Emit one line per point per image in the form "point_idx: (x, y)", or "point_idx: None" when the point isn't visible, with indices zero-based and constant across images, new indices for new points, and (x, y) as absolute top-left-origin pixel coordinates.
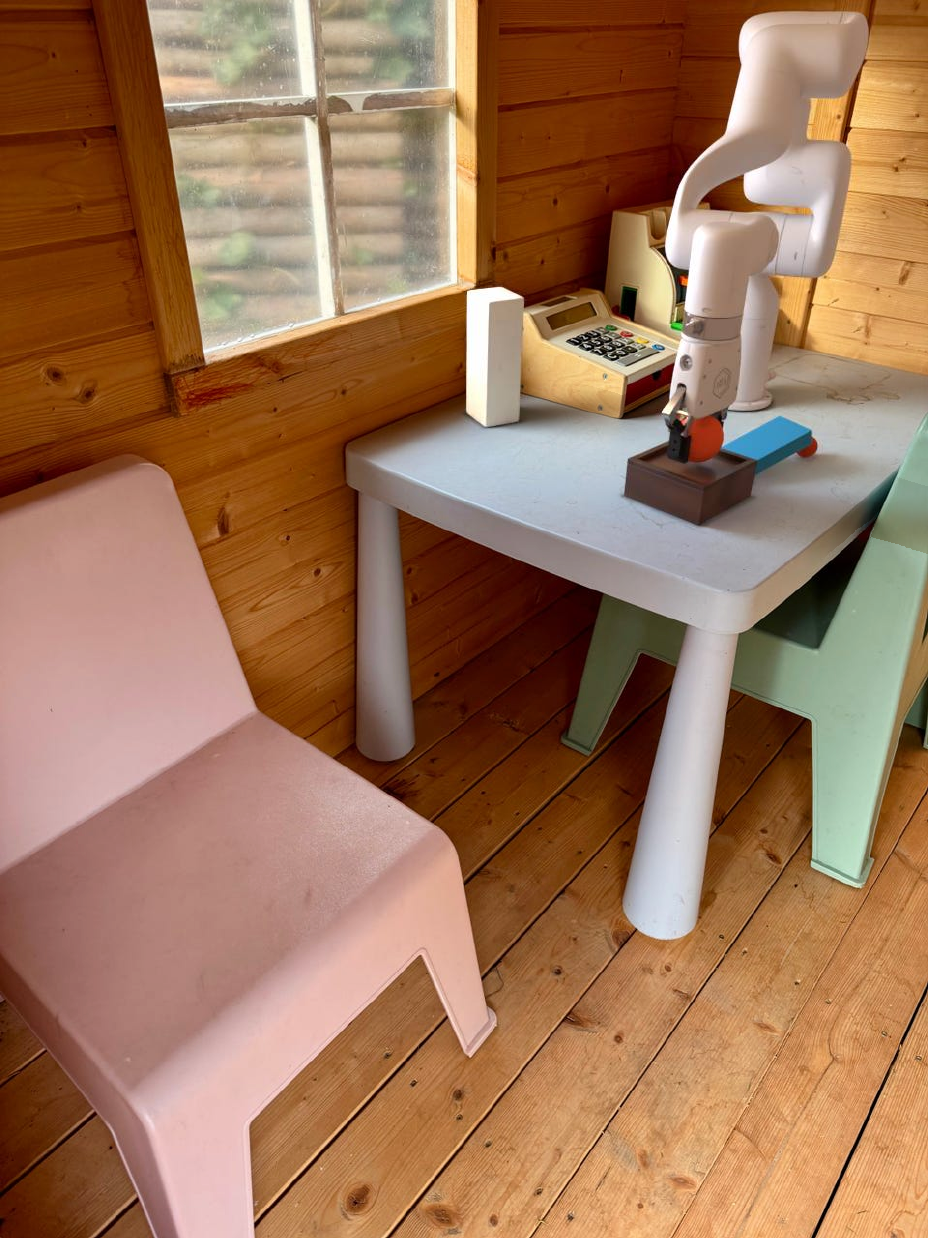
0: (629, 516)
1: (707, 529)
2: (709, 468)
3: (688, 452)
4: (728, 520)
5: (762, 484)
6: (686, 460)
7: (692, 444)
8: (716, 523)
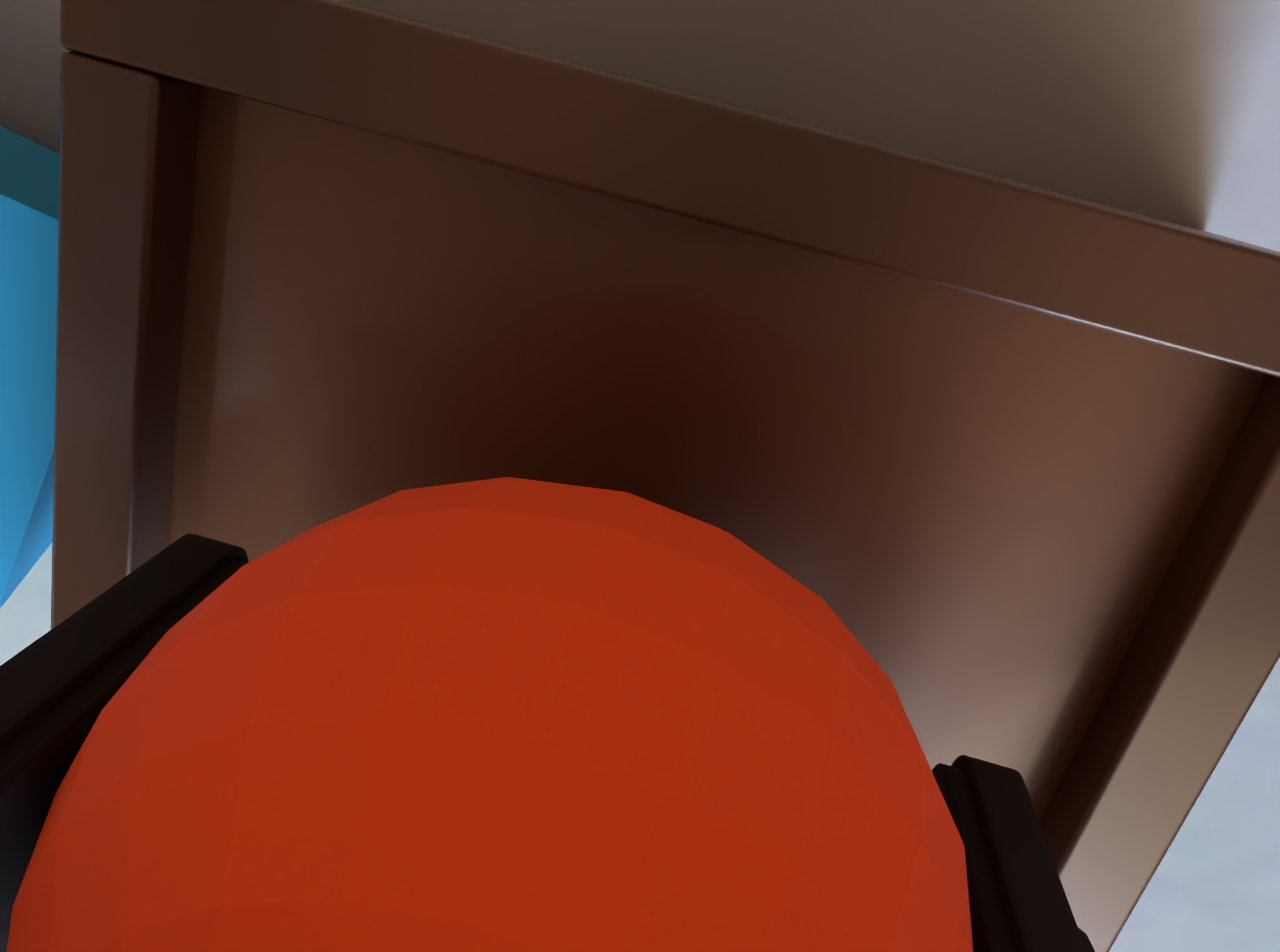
0: (1252, 780)
1: (1255, 125)
2: (596, 469)
3: (1025, 867)
4: (954, 8)
5: (3, 3)
6: (1018, 786)
7: (971, 937)
8: (1077, 93)
